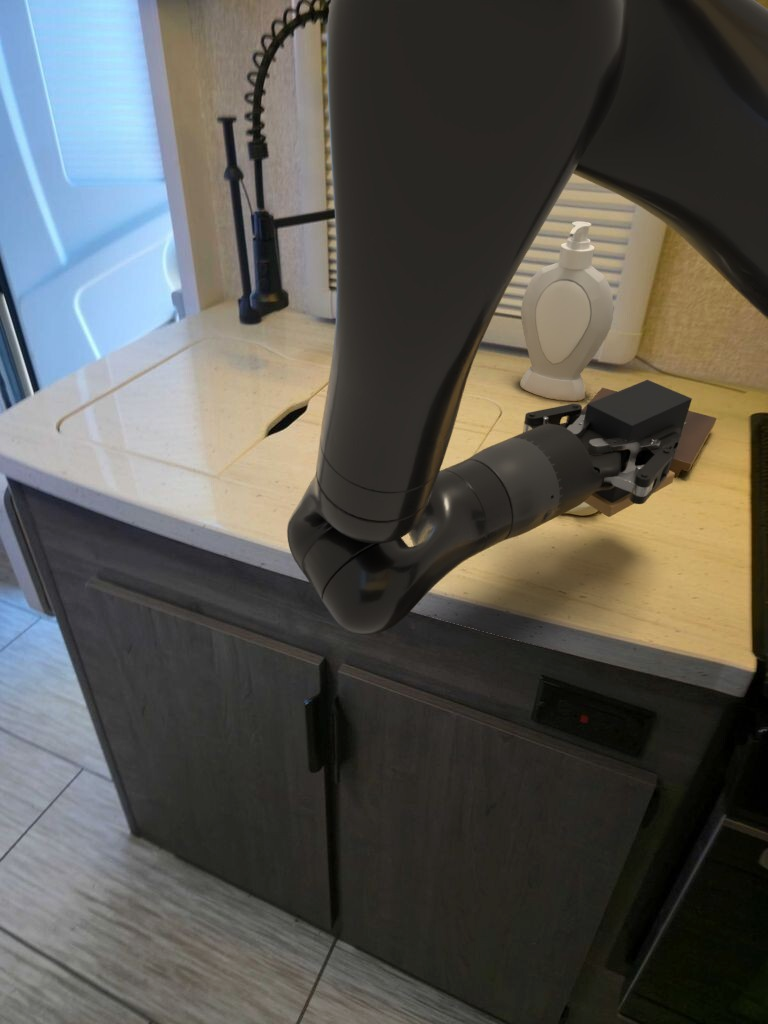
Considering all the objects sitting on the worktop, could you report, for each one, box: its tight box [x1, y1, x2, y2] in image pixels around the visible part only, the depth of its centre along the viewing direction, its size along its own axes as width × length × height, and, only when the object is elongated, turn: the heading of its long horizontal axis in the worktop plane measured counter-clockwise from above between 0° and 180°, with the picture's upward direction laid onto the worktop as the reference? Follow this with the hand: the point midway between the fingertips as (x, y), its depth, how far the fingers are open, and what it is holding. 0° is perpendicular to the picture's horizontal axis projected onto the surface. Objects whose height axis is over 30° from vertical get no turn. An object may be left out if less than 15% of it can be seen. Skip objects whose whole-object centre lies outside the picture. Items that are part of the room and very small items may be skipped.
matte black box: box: [584, 379, 693, 518], centre depth 62 cm, size 10×6×9 cm, turn 126°
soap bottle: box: [519, 220, 614, 402], centre depth 93 cm, size 13×8×24 cm, turn 63°
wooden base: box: [582, 387, 717, 478], centre depth 90 cm, size 16×14×3 cm
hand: (649, 424), depth 62 cm, fingers closed on matte black box, 5 cm apart
